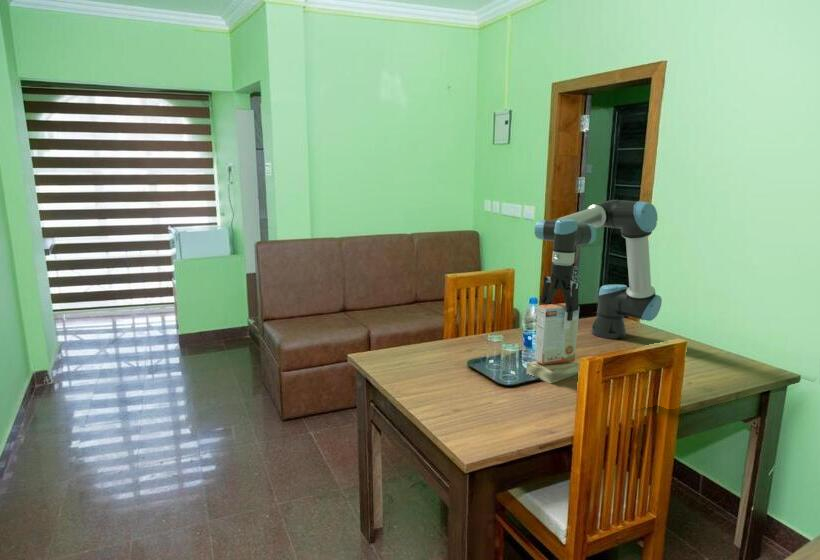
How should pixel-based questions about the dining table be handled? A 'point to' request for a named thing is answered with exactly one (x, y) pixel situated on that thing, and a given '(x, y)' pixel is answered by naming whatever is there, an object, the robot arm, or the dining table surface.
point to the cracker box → (555, 335)
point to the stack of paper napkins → (552, 370)
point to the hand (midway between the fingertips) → (557, 326)
